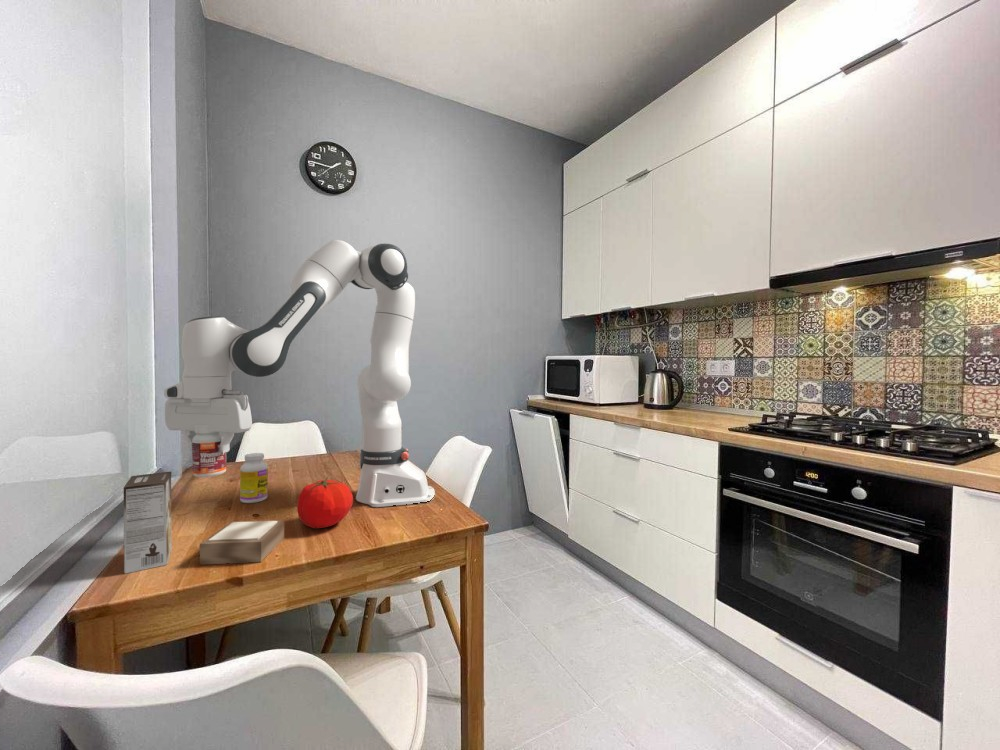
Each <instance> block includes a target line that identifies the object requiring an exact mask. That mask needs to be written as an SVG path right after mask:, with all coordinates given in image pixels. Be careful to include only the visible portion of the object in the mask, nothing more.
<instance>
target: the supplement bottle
mask: <svg viewBox="0 0 1000 750" xmlns="http://www.w3.org/2000/svg"><path fill="white" fill-rule="evenodd" d="M264 459H265V454H264V453H262V452H253V453H247V454H245V455H244V463H243V464H242V465H241V466H240V475H239V479H240V480H239V481H240V482H239V500H240V502H241V503H244V504H254V503H259V502H263V501H265V500H266V499H267V498H268V492H269V491H268V488H269V487H268V485H269V484H268V483H269V482H268V480H269V478H268V477H269V475H268V474H269V473H268V472H269V471H268V470H269V465H268V464H267V462H266V461H265V462H264Z"/></svg>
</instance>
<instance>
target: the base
mask: <svg viewBox="0 0 1000 750" xmlns="http://www.w3.org/2000/svg"><path fill="white" fill-rule="evenodd" d="M284 539H285V520H258V521H255V520H254V521H253V520H251V521H230V522H228V523H227V524H226V525H224V526H223V527H221V528H220V529H219V530H217V531H216V532H214V533H213V534H212V535H210V536H208V537H207V538H206V539H205V540H203V541H202V542H200V543H199V565H200V566H201V565H225V564H226V563H229V564H244V563H245V564H246V563H247V564H248V562H253V563H262V562H263V561H264V560H265V559H266V558H267V557H268V556H269V555H270V554H271V553H270V552H273V550H275V548H276V547H277V546H278V545H279V544H280V543H281V542H283V540H284ZM269 553H270V554H269ZM268 554H269V555H268ZM267 555H268V556H267ZM266 556H267V557H266ZM265 557H266V558H265ZM264 558H265V559H264ZM263 559H264V560H263ZM262 560H263V561H262Z"/></svg>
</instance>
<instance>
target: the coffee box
mask: <svg viewBox="0 0 1000 750" xmlns="http://www.w3.org/2000/svg"><path fill="white" fill-rule="evenodd" d="M172 543H173V542H172V471H163V472H155V473H146V474H138V475H131V476H130V478H128V481H127V482H126V483H125V485H124V486H123V572H124V574H131V573H134V572H139V571H145V570H148V569H153V568H158V567H163V566H166V565H168V562H169V559H170V555H171V552H172V545H173V544H172Z"/></svg>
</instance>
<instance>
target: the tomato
mask: <svg viewBox="0 0 1000 750" xmlns="http://www.w3.org/2000/svg"><path fill="white" fill-rule="evenodd" d="M328 478H329V477H328V476H327V477H326V478H325V479H321V480H318V481H316V482H314V483H312V484H307V485H304V487H303V488H302V490H301V491H300V494H299V496H298V500H297V504H296V509H297V514H298V515H297V516H298V517H299V519H300V520H301V522H302V523H303V524H305V525H306V526H308V527H310V528H312V529H322V528H328V527H331V526H335V524H337V523H339V522H341V521H342V520H343V519H344V518H345V517H346V516H347V515H348V513H349V512H350V510H351V508H352V506H353V502H354V499H353V498H354V495H353V493H352V490H351V488H350V487H349V486H348V484H346V483H343V482H340V481H336V480H331V479H328Z"/></svg>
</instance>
